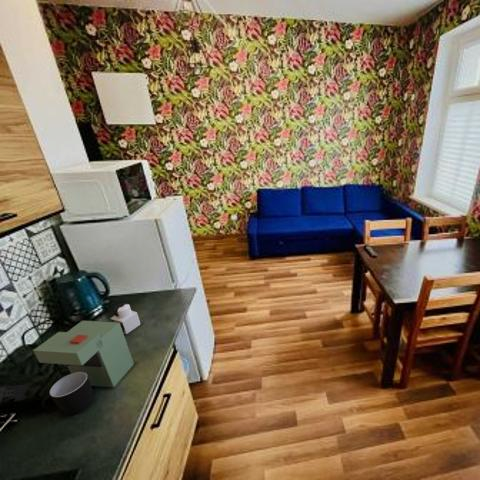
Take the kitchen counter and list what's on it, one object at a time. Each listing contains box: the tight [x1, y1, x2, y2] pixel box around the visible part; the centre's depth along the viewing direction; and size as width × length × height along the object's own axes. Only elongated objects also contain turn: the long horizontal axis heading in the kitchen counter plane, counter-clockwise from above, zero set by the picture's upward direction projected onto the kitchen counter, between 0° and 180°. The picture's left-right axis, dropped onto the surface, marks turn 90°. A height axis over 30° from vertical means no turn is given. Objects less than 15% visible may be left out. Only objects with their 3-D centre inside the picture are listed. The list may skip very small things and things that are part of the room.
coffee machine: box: [32, 320, 135, 388], centre depth 91 cm, size 14×16×23 cm
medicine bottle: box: [110, 302, 141, 335], centre depth 118 cm, size 7×7×12 cm
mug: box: [41, 372, 94, 416], centre depth 84 cm, size 12×9×10 cm
